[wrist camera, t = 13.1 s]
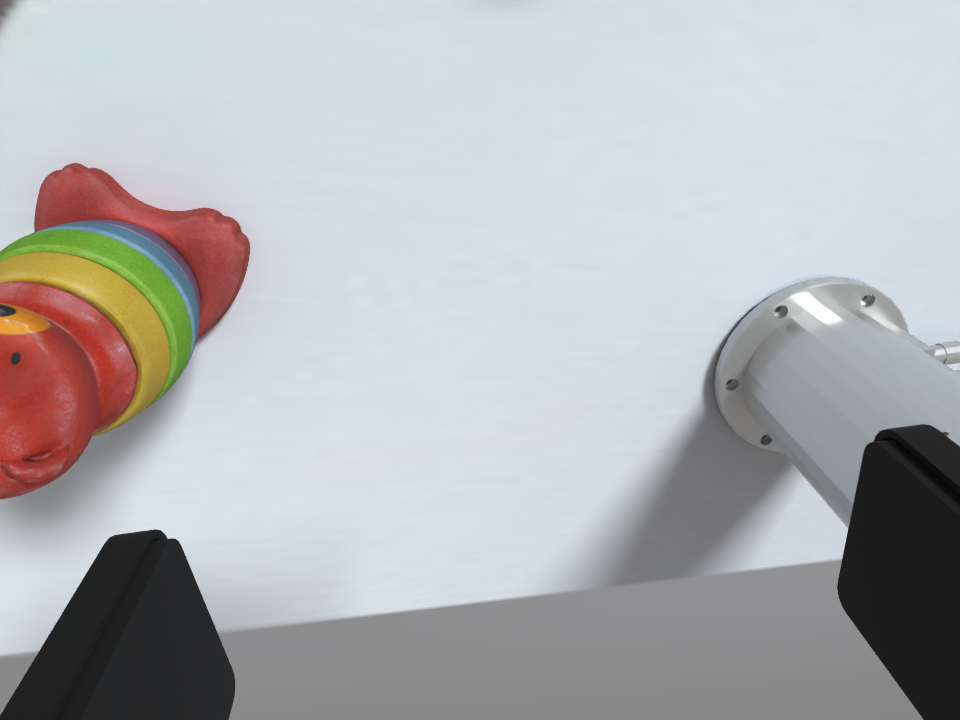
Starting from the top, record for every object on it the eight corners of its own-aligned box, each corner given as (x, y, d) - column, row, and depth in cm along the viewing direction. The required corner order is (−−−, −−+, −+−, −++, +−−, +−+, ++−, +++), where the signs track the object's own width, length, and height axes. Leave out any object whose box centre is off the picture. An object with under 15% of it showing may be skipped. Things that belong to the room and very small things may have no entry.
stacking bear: (259, 223, 37) (139, 372, 21) (219, 374, 41) (92, 595, 25) (51, 150, 34) (-266, 257, 18) (29, 318, 38) (-246, 525, 22)
